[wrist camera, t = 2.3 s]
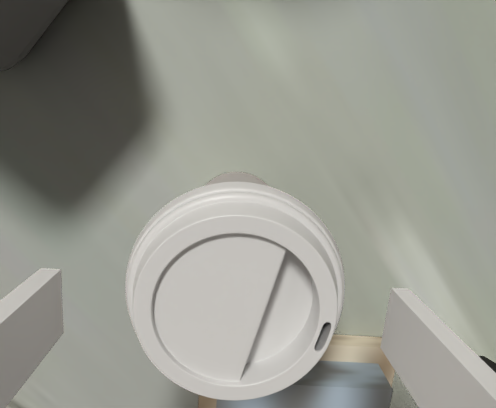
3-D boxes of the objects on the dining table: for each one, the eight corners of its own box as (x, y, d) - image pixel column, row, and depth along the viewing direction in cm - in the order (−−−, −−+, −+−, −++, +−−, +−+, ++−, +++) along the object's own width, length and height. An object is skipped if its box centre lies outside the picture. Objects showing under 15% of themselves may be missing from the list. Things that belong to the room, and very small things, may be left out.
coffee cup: (244, 292, 31) (251, 456, 16) (149, 221, 29) (60, 331, 14) (323, 204, 29) (410, 296, 14) (227, 124, 27) (216, 136, 13)
